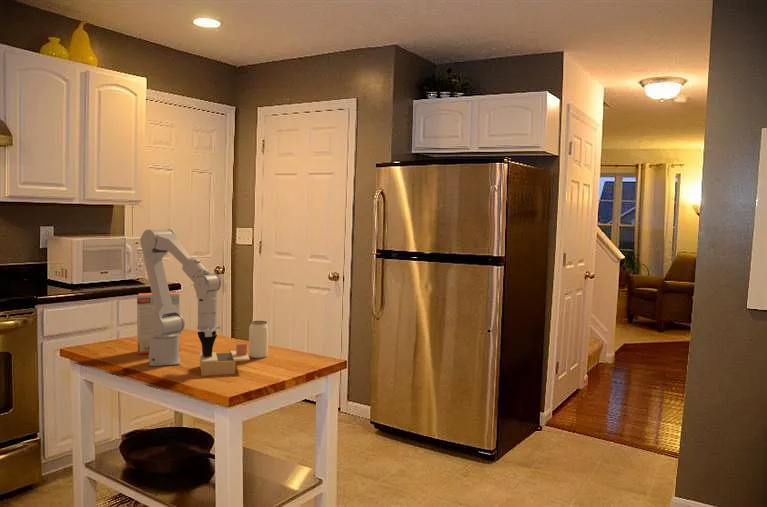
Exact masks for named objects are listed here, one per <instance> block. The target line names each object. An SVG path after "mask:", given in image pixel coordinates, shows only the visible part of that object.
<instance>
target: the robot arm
mask: <svg viewBox="0 0 767 507" xmlns="http://www.w3.org/2000/svg"><path fill="white" fill-rule="evenodd" d="M139 241H140V246H141V249H142V250H141V251H142V255H143V261H144V265H145V270H146V274H147V278H148V279H147V280H148V283H149V287H150V291H151V292H150V293H152V296H153V301H154V305H155V310H154V311H153V313H152V314H151V315H150V320H151V323H150V329H151V332H152V334H153V335H154V337H150V340H149V354H148V355H147V356H148V361H149V363H148V364H149V366H150V367H159V366H172V365H173V366H175V365H176V366H177V365H181V357H180V352H179V335H180V336H181V335H182V332H183V330H184V328H185V325H186V324H185V323H186V322H185V319H184V317H183V316H182V315H181V314H182V313H181V310H180V308H179V309H178V308H176V307H175V306H173V305H172V301H171V297H170V293H171V292H170V289H169V285H168V280H167V276H166V272H165V268H164V262H163V259H164V257H165V256H166V255H167V254H168V253H170V255H172V256H173V257H174V258H175V259H176V260H177V261H178V262H179V263H180V264H181V265H182V266H181V267H182V268H181V270H182V271H183V273H184V274H186V276H187V277H188V278H189V279H190V280H191V281H192V282H193V289H194V291H195V293H196V294H195V295H196V298H197V325H196V326H197V327H196V329H197V330H198V332H197V336H198V338H199V341H200V343H201V350H202V349H203V355H204V357H207V356H211V354H212V352H213V349H214V348H213V347H214V344H215V342H216V339H217V337H218V334H217V331H216V330H218V329H221V325H218V322H217V321H218V320H217V319H218V314H217V310H218V309H217V308H218V305H217V303H218V302H217V301H218V299H217V298H218V291H219V290H220V289H221V286H222V281H221V278H220V277H219V275H218V274H217V273H212V272H211V271H209V270H208V269H207V267H205V265H204V264H202V261H201V260H200V258H196V257H191V256H190V254H189V253H188V252H187V250H186V249H185V248H184V246H183V245H182V244H181V243H180V241H179V236H178V234H176V232H175V231H174V230H173V229H170V228H168V229H145V230H144V231H143V233H142V234H141V237H140V239H139ZM165 315H168V316H165ZM162 316H165V317H162Z"/></svg>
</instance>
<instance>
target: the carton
mask: <svg viewBox="0 0 767 507" xmlns="http://www.w3.org/2000/svg"><path fill="white" fill-rule="evenodd" d="M216 355H217V359H218V362H204V363H202V362H201V356H200V355H199V368H200V373H201V377H205V376H220V375H235V374H236V361H234V360H233V357H232V355H231V351H230V352H216Z"/></svg>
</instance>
